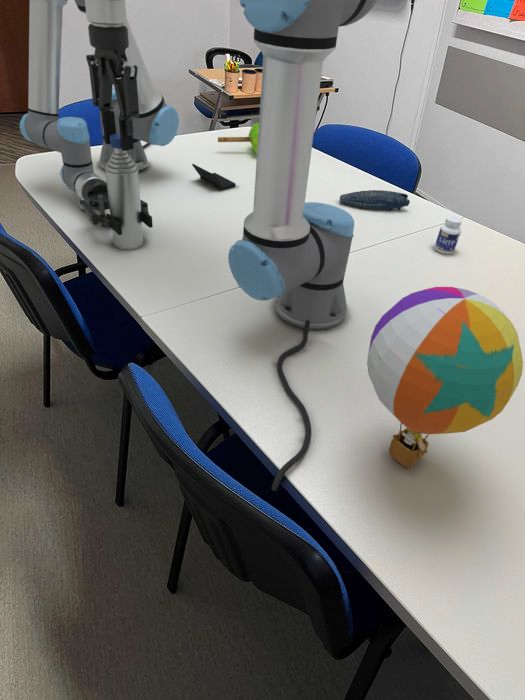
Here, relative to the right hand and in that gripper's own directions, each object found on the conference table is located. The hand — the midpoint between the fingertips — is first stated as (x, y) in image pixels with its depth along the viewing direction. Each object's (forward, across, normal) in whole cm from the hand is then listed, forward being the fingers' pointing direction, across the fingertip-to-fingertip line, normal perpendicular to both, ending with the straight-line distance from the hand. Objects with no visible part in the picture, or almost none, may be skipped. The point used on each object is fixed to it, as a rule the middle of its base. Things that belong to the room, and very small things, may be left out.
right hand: (119, 145), depth 116 cm
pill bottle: (+24, -59, -59) cm, 87 cm away
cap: (-2, 0, 0) cm, 2 cm away
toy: (+24, -85, +15) cm, 90 cm away
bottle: (+24, 0, 0) cm, 24 cm away
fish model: (+24, -31, -69) cm, 79 cm away
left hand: (+17, -5, +1) cm, 18 cm away
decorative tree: (+24, +22, -78) cm, 85 cm away
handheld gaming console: (+24, +13, -44) cm, 52 cm away
